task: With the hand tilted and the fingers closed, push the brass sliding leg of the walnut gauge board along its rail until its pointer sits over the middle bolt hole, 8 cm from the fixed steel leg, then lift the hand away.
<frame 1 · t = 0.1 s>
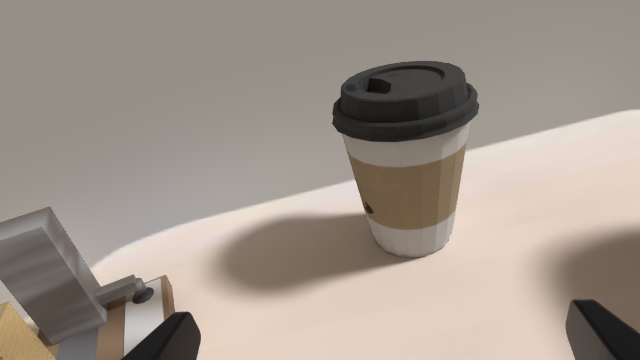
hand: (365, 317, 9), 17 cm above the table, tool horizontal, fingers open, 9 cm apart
coffee cup: (411, 234, 37), on the table
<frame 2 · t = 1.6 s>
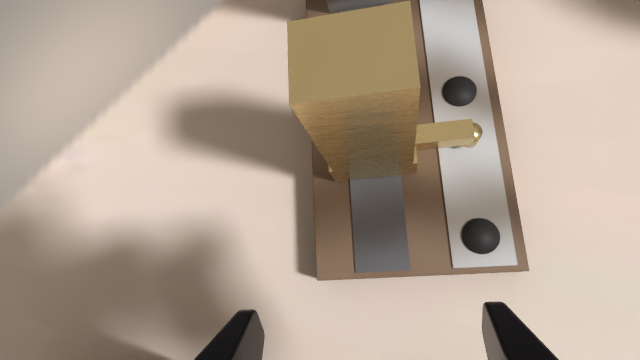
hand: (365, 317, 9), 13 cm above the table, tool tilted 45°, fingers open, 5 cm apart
gauge board: (371, 114, 24), on the table
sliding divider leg: (403, 111, 17), point 7 cm above the table, slide at -3.0 cm
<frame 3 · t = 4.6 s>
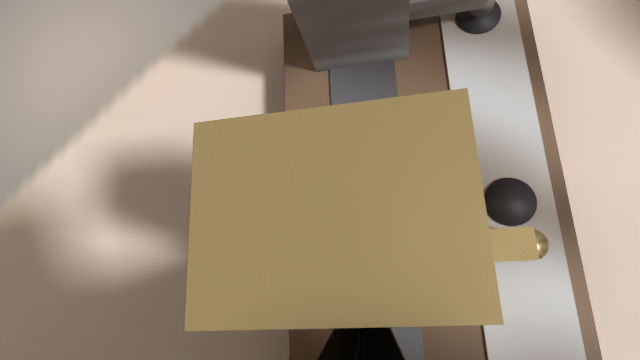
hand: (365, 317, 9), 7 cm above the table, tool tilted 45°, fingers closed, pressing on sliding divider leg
gauge board: (375, 218, 17), on the table
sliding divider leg: (429, 239, 10), point 7 cm above the table, slide at -1.7 cm, touching gripper
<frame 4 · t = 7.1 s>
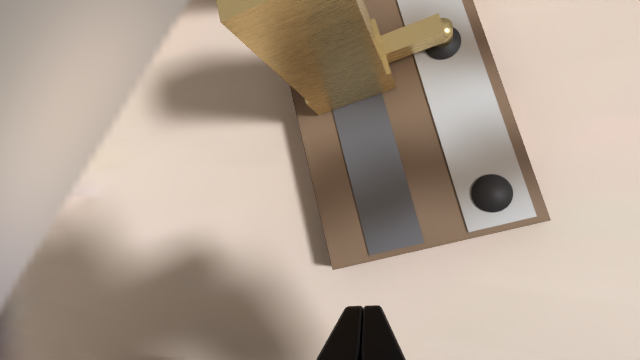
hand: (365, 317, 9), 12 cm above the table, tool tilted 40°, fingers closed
gauge board: (356, 87, 23), on the table
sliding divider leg: (357, 17, 16), point 7 cm above the table, slide at 0.0 cm
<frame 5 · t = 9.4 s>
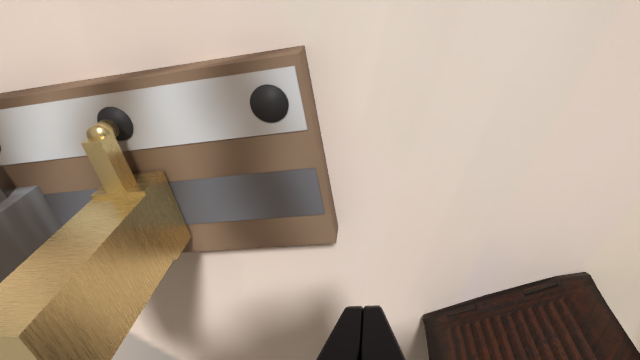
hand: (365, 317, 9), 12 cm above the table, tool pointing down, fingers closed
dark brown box: (561, 332, 26), on the table
gauge board: (166, 190, 23), on the table
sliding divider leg: (83, 242, 17), point 7 cm above the table, slide at 0.0 cm
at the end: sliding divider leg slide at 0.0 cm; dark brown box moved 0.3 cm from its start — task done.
